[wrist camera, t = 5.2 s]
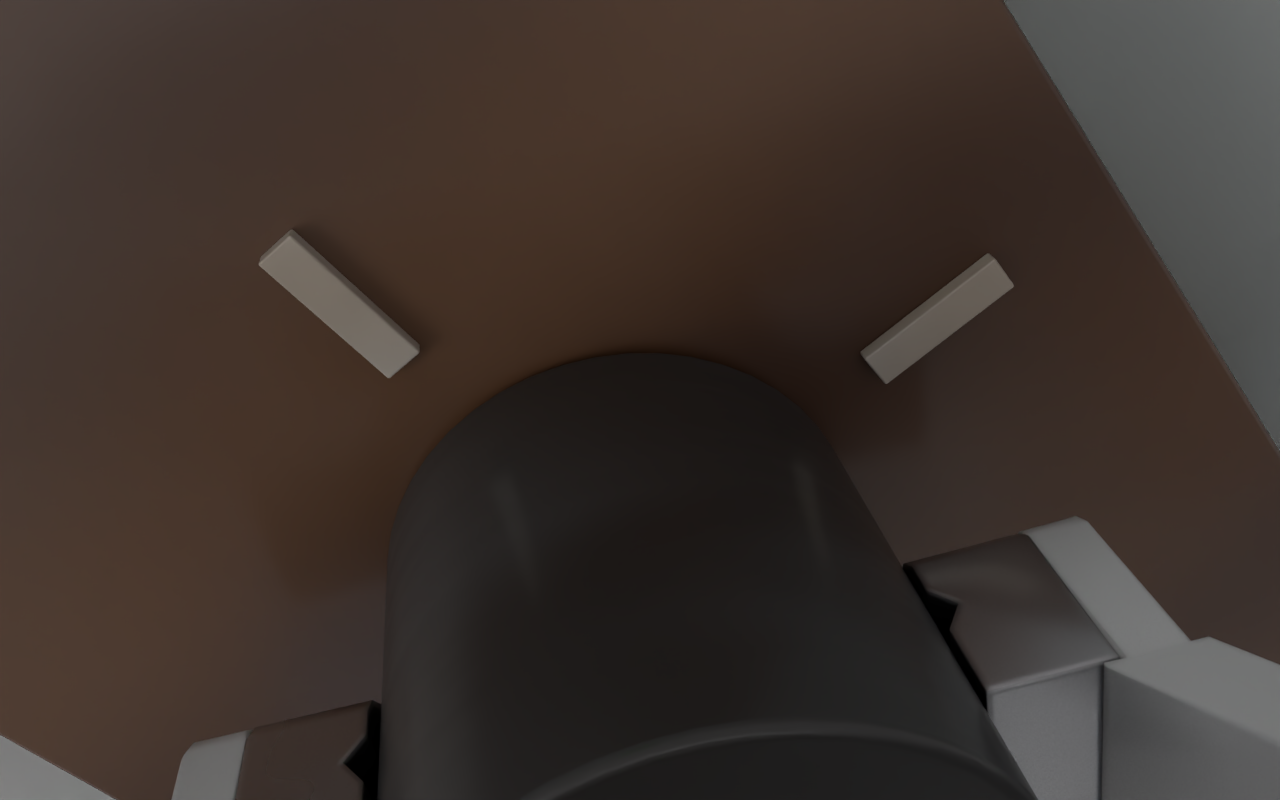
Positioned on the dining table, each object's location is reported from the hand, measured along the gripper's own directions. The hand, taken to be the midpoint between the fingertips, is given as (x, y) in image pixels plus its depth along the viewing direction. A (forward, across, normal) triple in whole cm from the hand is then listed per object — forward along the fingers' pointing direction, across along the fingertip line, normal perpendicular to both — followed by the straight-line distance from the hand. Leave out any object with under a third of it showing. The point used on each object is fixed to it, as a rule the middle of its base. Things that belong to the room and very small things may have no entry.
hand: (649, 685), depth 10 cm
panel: (+5, 0, 0) cm, 5 cm away
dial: (+2, 0, 0) cm, 2 cm away
